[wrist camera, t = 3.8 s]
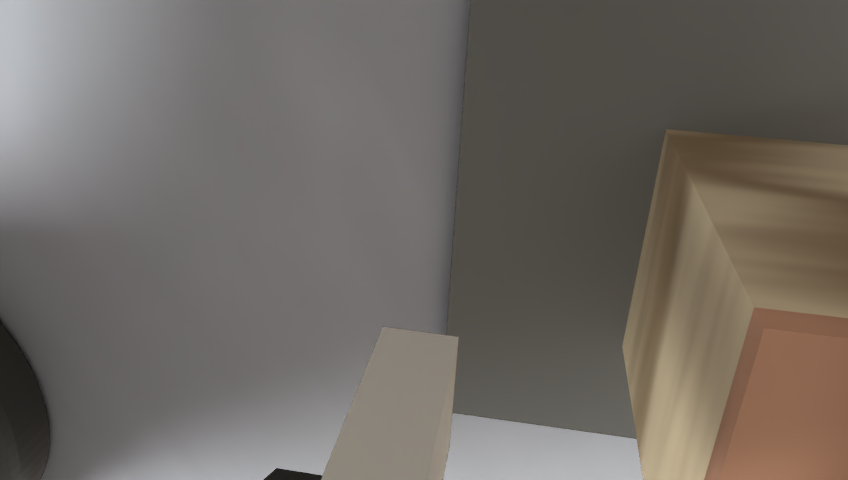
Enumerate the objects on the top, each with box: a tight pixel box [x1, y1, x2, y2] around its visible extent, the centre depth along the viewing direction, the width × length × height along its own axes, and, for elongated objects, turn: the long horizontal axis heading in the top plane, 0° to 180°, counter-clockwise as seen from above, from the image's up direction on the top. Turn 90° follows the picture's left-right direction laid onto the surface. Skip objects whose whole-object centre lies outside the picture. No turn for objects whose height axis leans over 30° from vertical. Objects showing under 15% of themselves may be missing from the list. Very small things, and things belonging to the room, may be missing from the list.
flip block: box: [622, 129, 848, 480], centre depth 16 cm, size 5×7×10 cm
